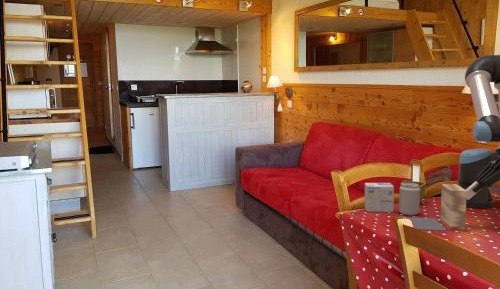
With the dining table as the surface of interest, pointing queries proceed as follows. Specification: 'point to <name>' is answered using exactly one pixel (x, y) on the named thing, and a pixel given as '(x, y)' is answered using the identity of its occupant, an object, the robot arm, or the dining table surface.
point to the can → (409, 199)
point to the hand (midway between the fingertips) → (464, 196)
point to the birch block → (453, 206)
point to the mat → (427, 224)
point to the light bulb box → (379, 197)
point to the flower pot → (421, 185)
